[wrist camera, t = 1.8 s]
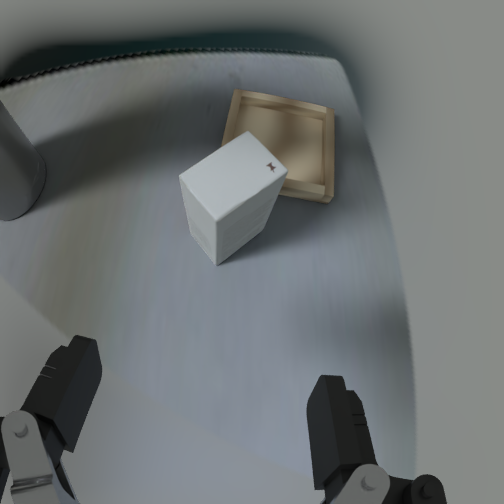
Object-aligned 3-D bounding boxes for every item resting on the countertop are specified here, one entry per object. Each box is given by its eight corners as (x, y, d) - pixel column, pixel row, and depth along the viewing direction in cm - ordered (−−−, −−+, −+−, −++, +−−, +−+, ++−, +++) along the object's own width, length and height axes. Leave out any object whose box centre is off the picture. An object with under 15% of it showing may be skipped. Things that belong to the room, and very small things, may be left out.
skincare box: (236, 199, 33) (250, 127, 21) (263, 230, 32) (292, 170, 21) (187, 234, 31) (176, 173, 20) (215, 268, 31) (218, 223, 19)
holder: (214, 183, 33) (214, 174, 31) (233, 99, 36) (234, 88, 34) (327, 204, 34) (333, 196, 32) (329, 118, 37) (334, 109, 35)
